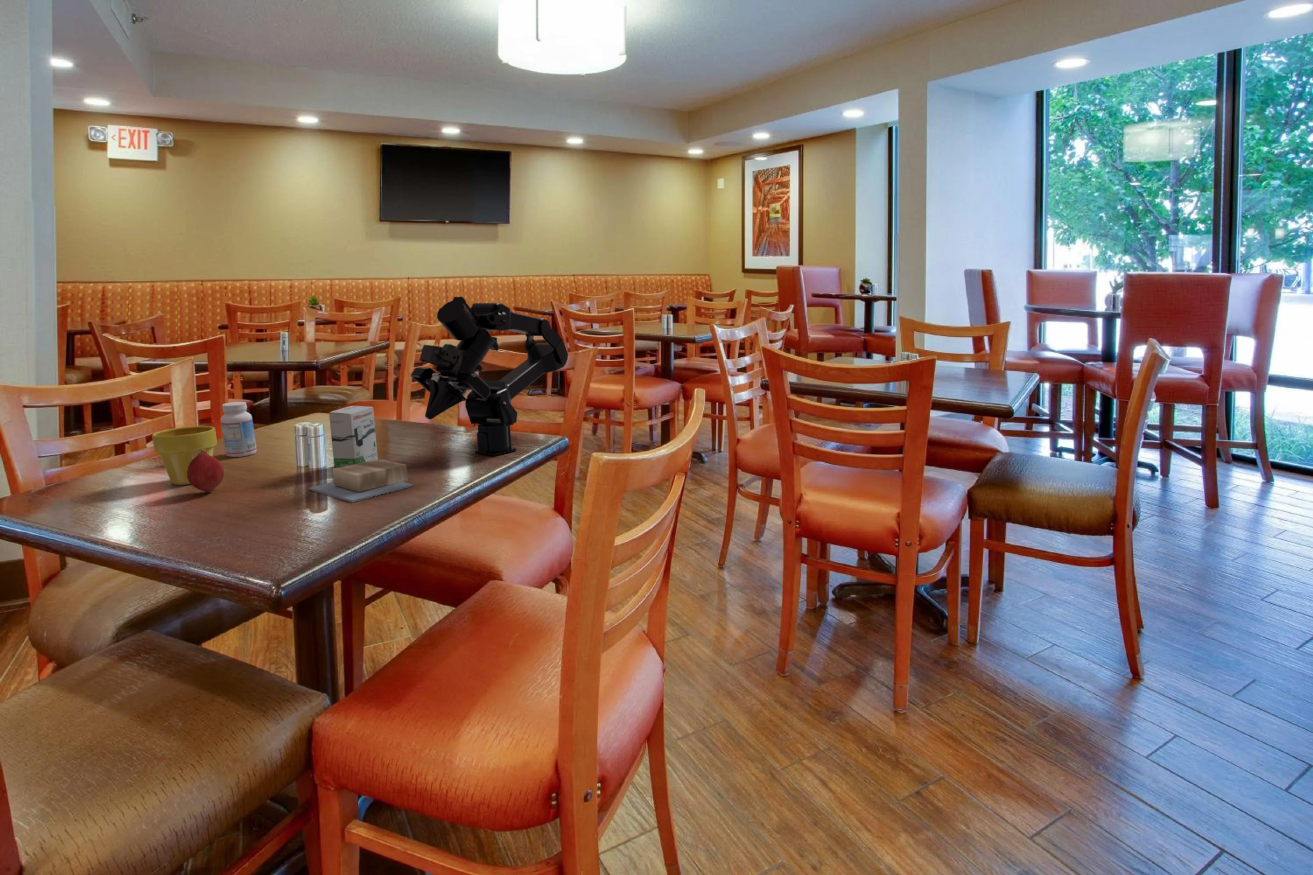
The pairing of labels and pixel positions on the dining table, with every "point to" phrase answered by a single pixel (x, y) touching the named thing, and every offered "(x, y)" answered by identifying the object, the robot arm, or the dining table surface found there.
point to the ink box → (353, 435)
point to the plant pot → (183, 448)
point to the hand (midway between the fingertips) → (427, 418)
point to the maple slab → (370, 475)
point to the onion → (205, 472)
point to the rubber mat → (354, 495)
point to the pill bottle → (238, 430)
